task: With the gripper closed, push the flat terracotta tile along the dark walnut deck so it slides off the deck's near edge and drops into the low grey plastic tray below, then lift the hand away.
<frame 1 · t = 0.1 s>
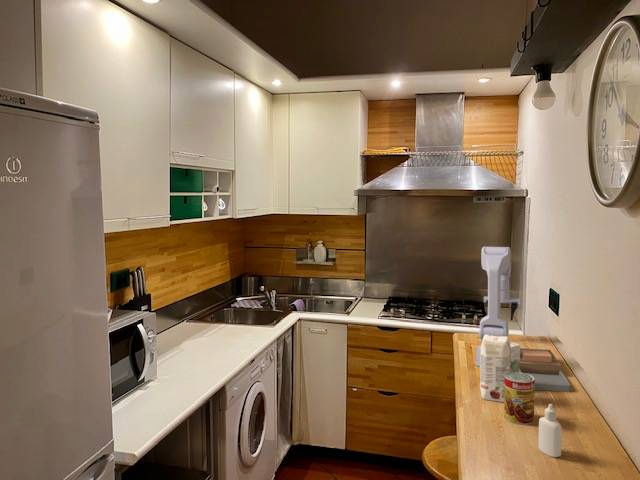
hand: (502, 318, 211), 11 cm above the worktop, tool pointing down, fingers open, 7 cm apart
tile: (536, 358, 179), point 4 cm above the worktop, touching deck
tray: (543, 382, 167), on the worktop
eye dropper bottle: (549, 452, 122), on the worktop
syrup box: (506, 387, 164), on the worktop
juice carton: (495, 398, 155), on the worktop
deck: (534, 366, 182), on the worktop
canned food: (518, 419, 140), on the worktop
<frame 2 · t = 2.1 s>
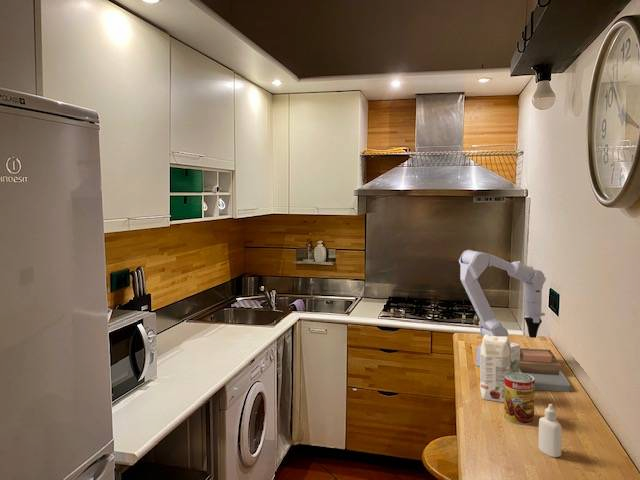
hand: (532, 337, 186), 10 cm above the worktop, tool pointing down, fingers closed
nothing on the worktop moved.
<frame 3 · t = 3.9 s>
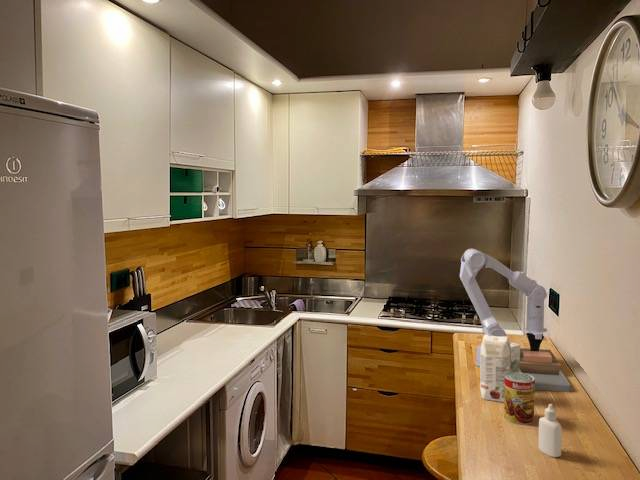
hand: (534, 353, 182), 5 cm above the worktop, tool pointing down, fingers closed
tile: (536, 359, 178), point 4 cm above the worktop
everything else where it was.
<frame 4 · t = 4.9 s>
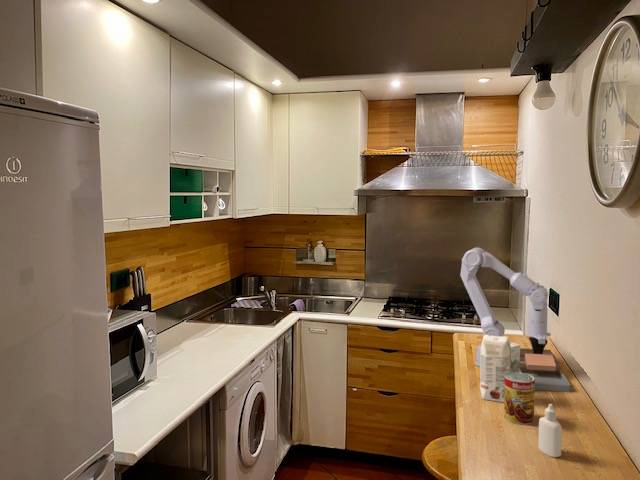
hand: (537, 358, 176), 5 cm above the worktop, tool pointing down, fingers closed
tile: (539, 364, 173), point 4 cm above the worktop, tilted 21°, touching deck
everything else where it was.
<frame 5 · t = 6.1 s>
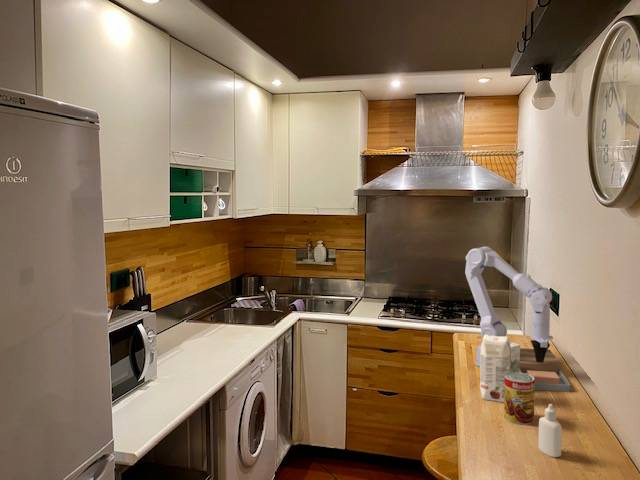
hand: (539, 361, 173), 5 cm above the worktop, tool pointing down, fingers closed
tile: (542, 374, 168), point 2 cm above the worktop, tilted 180°, touching tray
everything else where it was.
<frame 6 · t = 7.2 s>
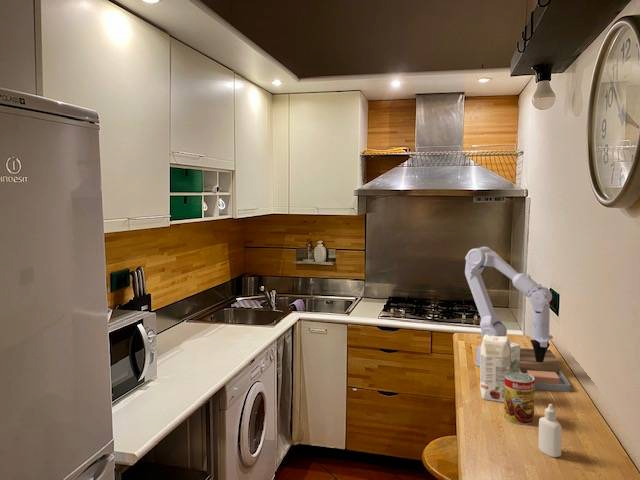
hand: (539, 361, 173), 5 cm above the worktop, tool pointing down, fingers closed
nothing on the worktop moved.
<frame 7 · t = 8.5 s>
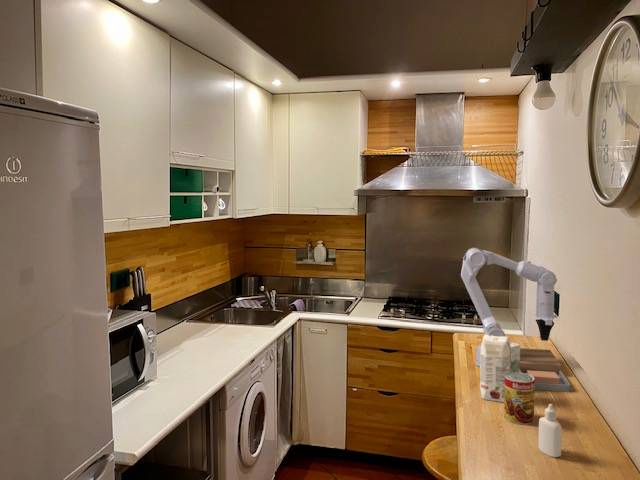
hand: (544, 340, 180), 10 cm above the worktop, tool pointing down, fingers closed
nothing on the worktop moved.
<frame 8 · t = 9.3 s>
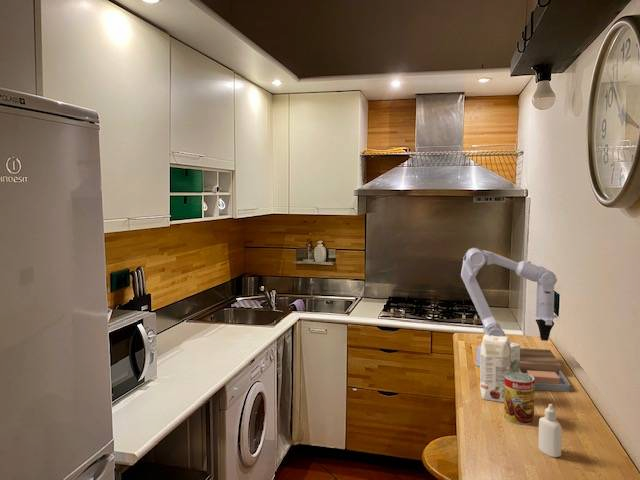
hand: (544, 340, 180), 10 cm above the worktop, tool pointing down, fingers closed
nothing on the worktop moved.
at the end: tile point 2.4 cm above the worktop; tile 1.3 cm from the tray (horizontally) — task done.
